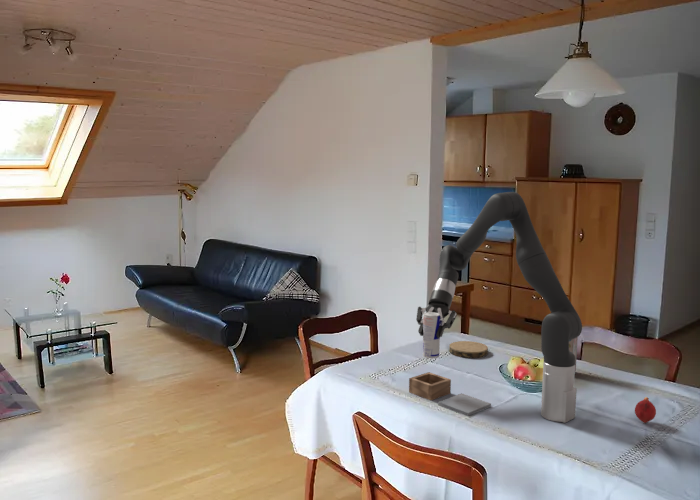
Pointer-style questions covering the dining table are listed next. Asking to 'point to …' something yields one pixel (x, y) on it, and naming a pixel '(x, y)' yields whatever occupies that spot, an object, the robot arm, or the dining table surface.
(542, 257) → the robot arm
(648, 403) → the onion
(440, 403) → the slate coaster
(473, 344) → the round wood slice
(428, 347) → the beverage can
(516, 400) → the dining table surface
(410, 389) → the walnut holder
